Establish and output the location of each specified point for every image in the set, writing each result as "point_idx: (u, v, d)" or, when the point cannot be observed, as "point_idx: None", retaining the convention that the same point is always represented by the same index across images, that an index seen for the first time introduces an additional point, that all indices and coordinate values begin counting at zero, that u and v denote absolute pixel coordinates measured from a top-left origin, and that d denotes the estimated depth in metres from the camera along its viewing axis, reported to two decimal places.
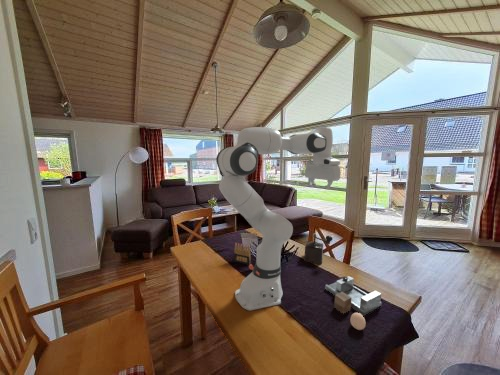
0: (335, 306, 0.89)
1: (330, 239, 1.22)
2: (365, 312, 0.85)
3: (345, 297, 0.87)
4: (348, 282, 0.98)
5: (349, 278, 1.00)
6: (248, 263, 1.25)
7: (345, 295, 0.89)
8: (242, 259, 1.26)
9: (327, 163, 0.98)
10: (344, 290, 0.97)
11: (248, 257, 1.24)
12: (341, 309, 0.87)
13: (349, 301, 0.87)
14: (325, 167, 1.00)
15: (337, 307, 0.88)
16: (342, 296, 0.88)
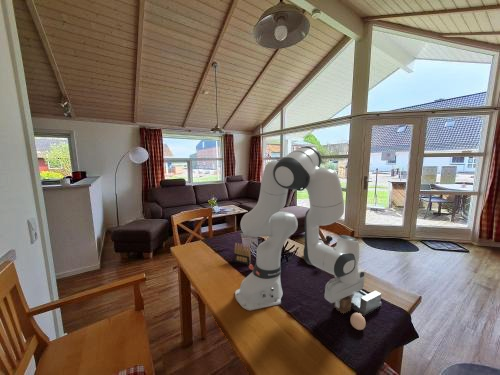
0: (335, 306, 0.89)
1: (330, 239, 1.22)
2: (365, 312, 0.85)
3: (345, 297, 0.87)
4: None
5: None
6: (248, 263, 1.25)
7: None
8: (242, 259, 1.26)
9: (362, 276, 0.87)
10: None
11: (248, 257, 1.24)
12: (341, 309, 0.87)
13: (349, 301, 0.87)
14: (357, 280, 0.87)
15: None
16: None
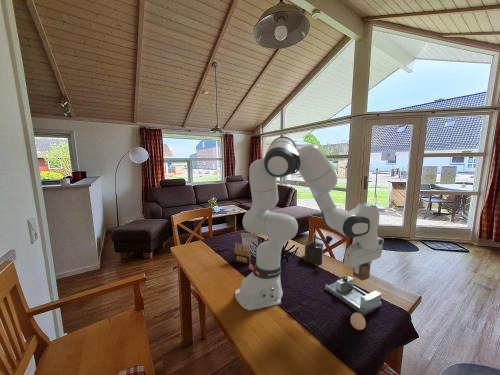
0: (354, 274, 0.92)
1: (330, 239, 1.22)
2: (365, 312, 0.85)
3: (364, 264, 0.89)
4: (348, 282, 0.98)
5: (349, 278, 1.00)
6: (248, 263, 1.25)
7: (364, 263, 0.91)
8: (242, 259, 1.26)
9: (381, 243, 0.89)
10: (344, 290, 0.97)
11: (248, 257, 1.24)
12: (360, 276, 0.89)
13: (368, 268, 0.89)
14: (375, 247, 0.89)
15: (356, 274, 0.91)
16: None
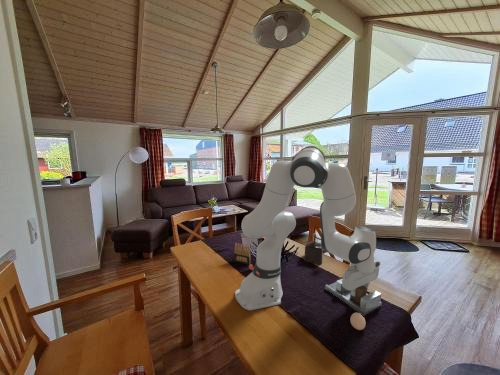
0: (351, 296, 0.93)
1: None
2: (365, 312, 0.85)
3: (361, 287, 0.92)
4: None
5: None
6: (248, 263, 1.25)
7: None
8: (242, 259, 1.26)
9: (378, 265, 0.91)
10: (344, 290, 0.97)
11: (248, 257, 1.24)
12: (357, 298, 0.91)
13: (365, 291, 0.91)
14: (372, 270, 0.91)
15: (353, 297, 0.93)
16: None
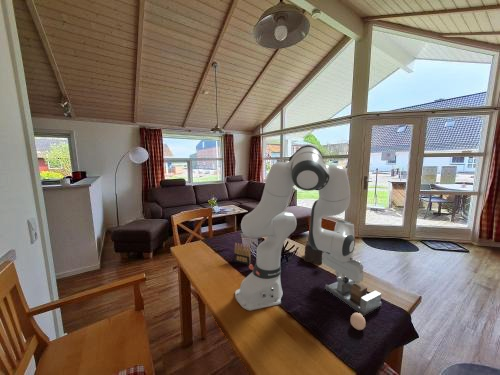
0: (351, 296, 0.93)
1: None
2: (365, 312, 0.85)
3: (361, 287, 0.92)
4: (349, 282, 0.97)
5: (350, 279, 0.99)
6: (248, 263, 1.25)
7: (361, 285, 0.93)
8: (242, 259, 1.26)
9: None
10: (345, 291, 0.97)
11: (248, 257, 1.24)
12: (357, 298, 0.91)
13: (365, 291, 0.91)
14: None
15: (353, 297, 0.93)
16: (358, 286, 0.92)
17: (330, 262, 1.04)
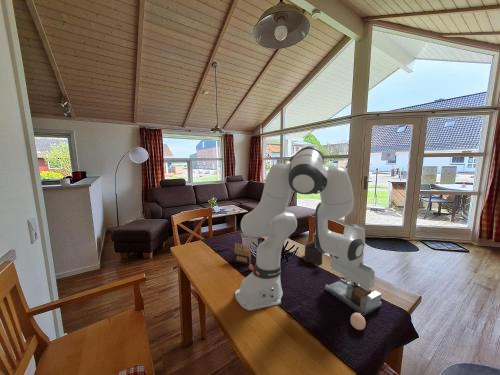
0: (355, 298, 0.92)
1: None
2: (365, 312, 0.85)
3: (365, 290, 0.90)
4: None
5: None
6: (248, 263, 1.25)
7: (365, 288, 0.91)
8: (242, 259, 1.26)
9: None
10: None
11: (248, 257, 1.24)
12: None
13: None
14: None
15: (357, 299, 0.91)
16: (362, 288, 0.91)
17: (338, 267, 0.99)
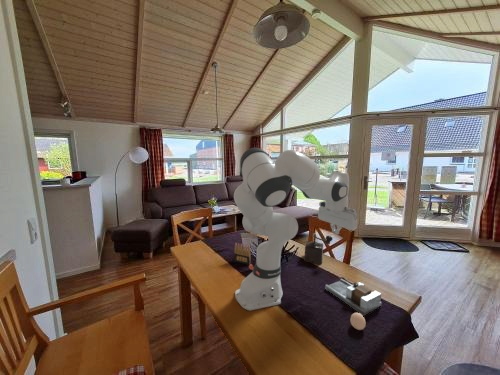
0: (355, 298, 0.92)
1: (330, 239, 1.22)
2: (365, 312, 0.85)
3: (365, 290, 0.90)
4: None
5: (360, 284, 0.95)
6: (248, 263, 1.25)
7: (365, 288, 0.91)
8: (242, 259, 1.26)
9: None
10: None
11: (248, 257, 1.24)
12: None
13: None
14: None
15: (357, 299, 0.91)
16: (362, 288, 0.91)
17: (325, 215, 1.04)
